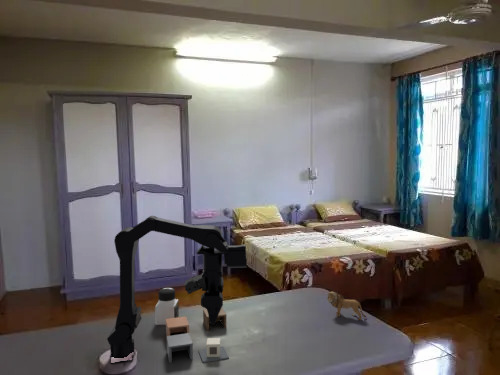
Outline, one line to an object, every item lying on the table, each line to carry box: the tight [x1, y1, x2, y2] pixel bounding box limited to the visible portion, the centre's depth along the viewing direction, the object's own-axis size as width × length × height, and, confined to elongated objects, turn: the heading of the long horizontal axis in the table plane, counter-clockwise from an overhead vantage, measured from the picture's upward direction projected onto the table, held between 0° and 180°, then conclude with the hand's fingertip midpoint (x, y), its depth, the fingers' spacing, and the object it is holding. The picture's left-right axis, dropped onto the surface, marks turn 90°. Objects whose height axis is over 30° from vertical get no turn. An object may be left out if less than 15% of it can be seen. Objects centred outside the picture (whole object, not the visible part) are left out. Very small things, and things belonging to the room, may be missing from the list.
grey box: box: [166, 332, 194, 364], centre depth 122 cm, size 7×7×5 cm
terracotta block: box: [165, 316, 190, 337], centre depth 134 cm, size 7×7×5 cm
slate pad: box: [198, 346, 230, 364], centre depth 122 cm, size 8×7×1 cm
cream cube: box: [206, 337, 221, 357], centre depth 122 cm, size 4×4×4 cm
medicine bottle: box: [154, 287, 180, 326], centre depth 146 cm, size 7×7×12 cm
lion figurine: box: [326, 291, 367, 321], centre depth 150 cm, size 15×5×9 cm, turn 74°
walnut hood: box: [202, 307, 227, 331], centre depth 143 cm, size 7×7×5 cm
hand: (213, 317), depth 121 cm, fingers open, 9 cm apart
